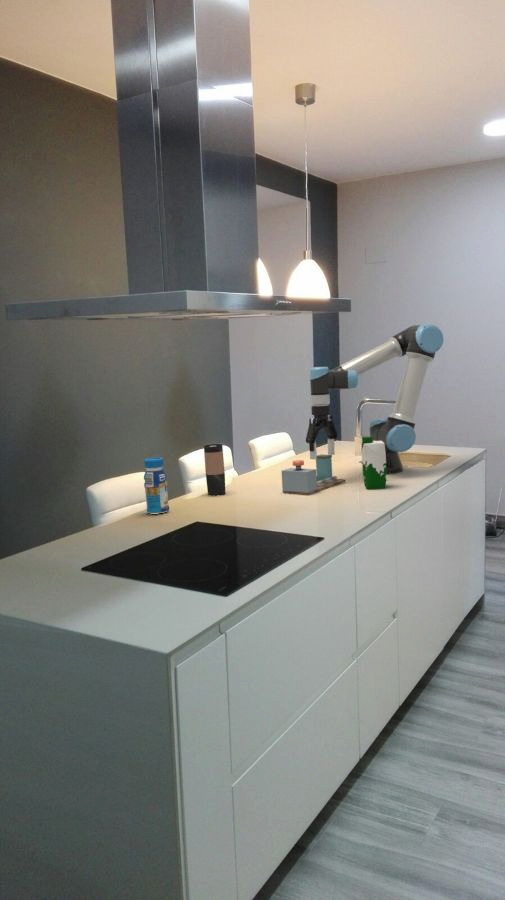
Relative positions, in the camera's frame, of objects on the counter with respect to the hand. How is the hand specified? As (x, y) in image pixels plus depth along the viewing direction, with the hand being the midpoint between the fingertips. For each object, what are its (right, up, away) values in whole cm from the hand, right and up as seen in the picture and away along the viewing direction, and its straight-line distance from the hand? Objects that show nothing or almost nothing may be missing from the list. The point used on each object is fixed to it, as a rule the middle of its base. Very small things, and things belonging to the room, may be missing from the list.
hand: (322, 456), depth 295 cm
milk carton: (+19, -12, -13) cm, 26 cm away
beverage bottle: (-63, -20, -31) cm, 73 cm away
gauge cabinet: (-10, -14, -13) cm, 21 cm away
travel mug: (-43, -15, -4) cm, 46 cm away
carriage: (+1, -10, +1) cm, 10 cm away
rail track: (-3, -12, -4) cm, 13 cm away
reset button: (-11, -5, -14) cm, 18 cm away
